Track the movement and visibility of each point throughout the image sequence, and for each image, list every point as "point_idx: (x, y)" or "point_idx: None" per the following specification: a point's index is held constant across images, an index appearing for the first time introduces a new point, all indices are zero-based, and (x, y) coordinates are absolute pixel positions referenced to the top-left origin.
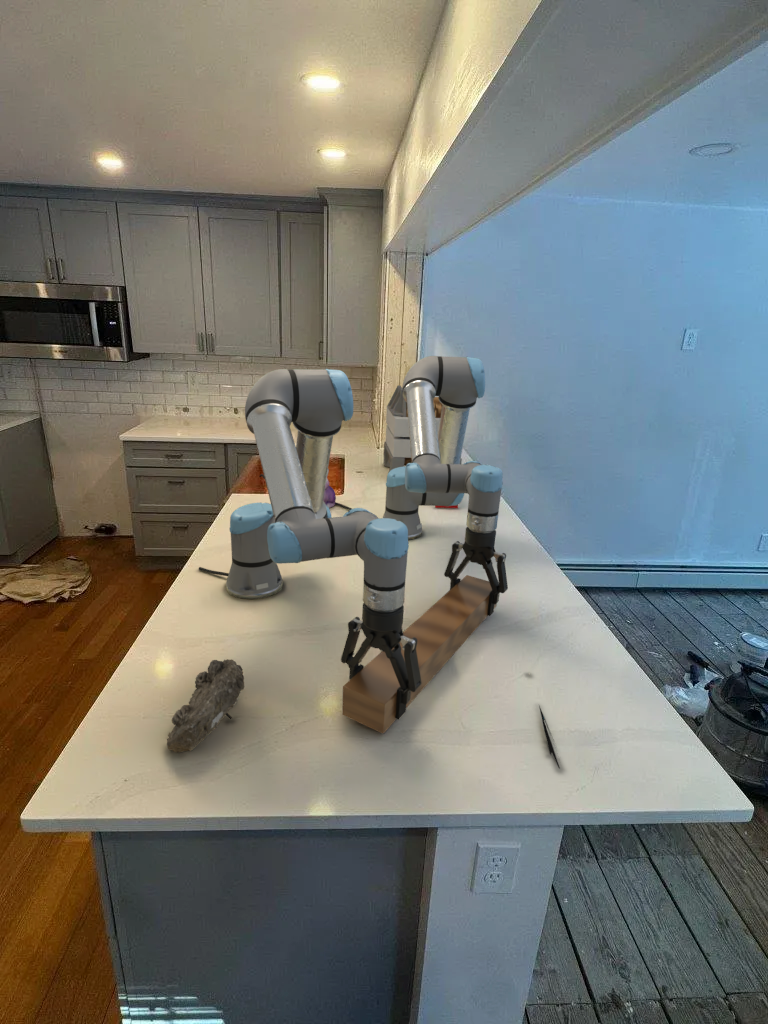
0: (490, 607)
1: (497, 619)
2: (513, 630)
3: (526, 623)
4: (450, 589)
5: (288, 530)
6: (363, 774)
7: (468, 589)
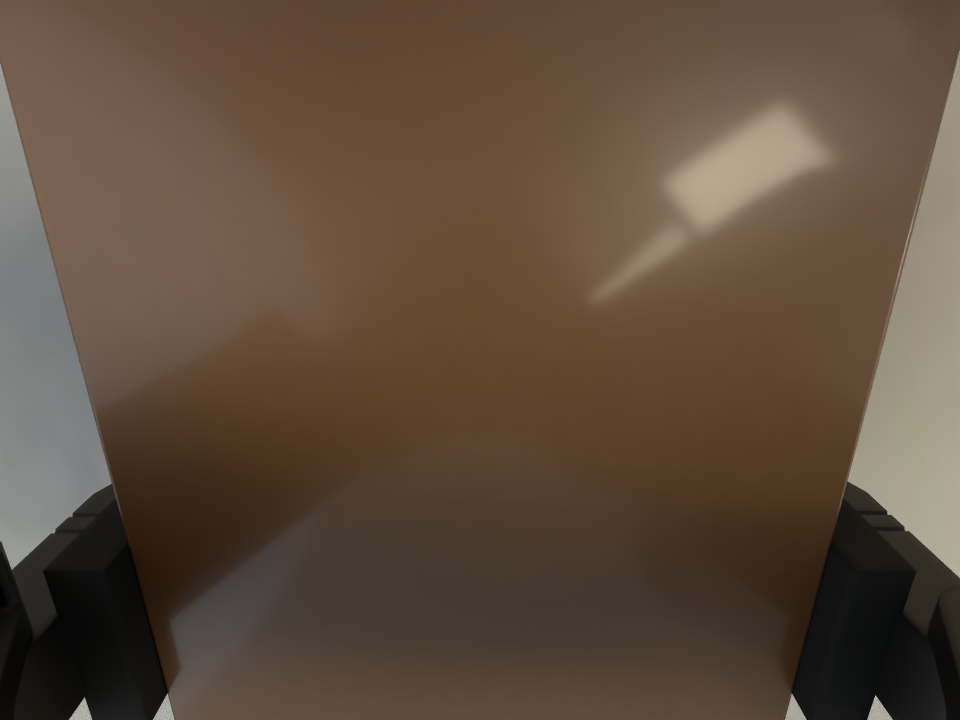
0: None
1: None
2: (22, 349)
3: (17, 519)
4: (850, 487)
5: None
6: None
7: (546, 498)
